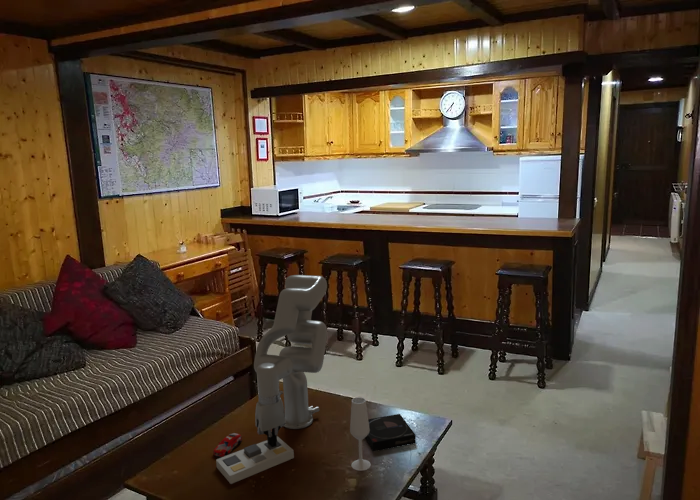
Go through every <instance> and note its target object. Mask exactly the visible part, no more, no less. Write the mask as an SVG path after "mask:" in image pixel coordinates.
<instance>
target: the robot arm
mask: <svg viewBox="0 0 700 500" xmlns="http://www.w3.org/2000/svg"><path fill="white" fill-rule="evenodd" d="M327 282H328V281H327V280H326V278H325V277H324V276H322V275H307V274H306V275H305V274H293V275H289V276H287V277H286V279H285V283H284V286H285V288H284V289H282V290H281V291H280V293H279V296H278V300H277V306H276V312H275V316H274V321H273V325H272V326H271V328H270V329H269V330H267V332H266V333H264V335H263V336H262V337H261V339H260V340H259V342H258V344H257V346H256V349H255V355H254V361H253V369H254V371H255V373H256V380H257V381H256V382H257V391H258V392H257V394H258V396H257V397H258V401H257V402H256V404H255V405H256V406H255V417H254V418H255V419H254V420H255V421H254V423H255V427H256V428H257V429H256V430H257V432H256V433H257V434H258V435H259V436H260V435H265V436H267V437H266V438H267V441H268V444H270V445H271V446H272V447H274V446H276V442H277V436H278V434H279V431H280V430H281V429H282V428H283V427H285V428H286V429H291V430H300V429H304V428H308V427H309V426H310V425H311V424H312V423H313V422H314V417H313V414H315V413H317V412H319V411H320V407H319V406H316V407H314V406H313V405H311V406H309V394H308V393H309V392H308V391H309V390H308V378H307V377H306V374H305V373H309V374H311V373H312V374H313V373H314V374H316V373H319V372H321V370H322V368H323V365H324V359H325V353H326V352H325V351H326V347H327V346H326V345H327V339H328V328H327V325H326V324H325V323H324V322H323V321H320V320H312V314H313V311H314V310H315V309H316V307H318V305H319V303H320V302H321V301H322V299H323V298H324V296H325V294H326V292H327V290H328V283H327ZM286 336H287V340H288V341H289V342H291V343H293V344H299V345H300V344H301V345H311V347H309V346H308V347H304V346H295V345H289V346H285V347H283V348H282V349H280V351H279V353H278V355H276V354H268V351H269V349H270V346H271V345H272V344H273V343H274V342H276V341H277V340H279V339H281V338H283V337H286ZM280 380H282V386H283V388H282V389H283V390H280ZM282 395H283V400H282V398H281V396H282Z"/></svg>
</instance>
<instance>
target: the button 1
mask: <svg viewBox="0 0 700 500" xmlns="http://www.w3.org/2000/svg"><path fill="white" fill-rule="evenodd" d="M223 462H224V463H225V464H226V465H227V466H230V465H233V464H236V463H238V462H240V460H239V459H238V458H237V457H236V456H235V455H234V456H232V457H229V458H226V459H224V460H223Z"/></svg>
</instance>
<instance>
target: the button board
mask: <svg viewBox="0 0 700 500" xmlns="http://www.w3.org/2000/svg"><path fill="white" fill-rule="evenodd" d="M277 442H279V443H280V444H281V446H279V447H276V448H274V449H271V450H269V449H268V448H267V447H266V446H265V443H268V441H267V440H263V441H261V442H258V443H255V444H256V445H257V446H258V447H259V448H260V449H261V454H258V455H256V456H253V457H251V458H249V457H248V456H247V455H246V454H245V453H244V448H242V449H240V450H238V451H235V452H232V453H229V454H228V455H227V456H224V457H218V458H217V459H215V461H216V462H215V464H216V468H217V470H218V471H219V472H220V473H221V474H222V476H224V478H225V479H226V480H227V482H229V484H230V485H233V484H235V483H237V482H239V481H241V480H242V481H243V480H244V479H246V478H249V477H251V476H254V475H257V474H258V473H261V472H263V471H266V470H268V469H270V468H272V467H276V466H277V465H281V464H283V463H285V462H287V461H290V460H291V459H294V458H295V453H294V449H293V448H292V447H290V446H289V445H288V444H287V443H286V442H285V441H284V440H282V439H281V438H280V437H279V436H278V435H277ZM234 455H235V456H236V457H237V458H238V459H239V460H240V462H238V463H236V464H233V465H230V466H227V465H226V464H225V463H224V462H223V460H224V459H226V458H229V457H232V456H234Z"/></svg>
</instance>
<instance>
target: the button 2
mask: <svg viewBox="0 0 700 500" xmlns="http://www.w3.org/2000/svg"><path fill="white" fill-rule="evenodd" d="M265 446H266V447H267V448H268V449H269V450H271V449H274V448H276V447H279V446H281V444H280V443H279V442H276V446H274V447H272V446H271V445H270V444H268V443H265Z"/></svg>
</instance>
